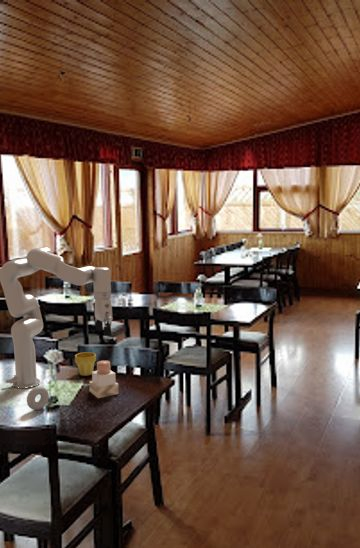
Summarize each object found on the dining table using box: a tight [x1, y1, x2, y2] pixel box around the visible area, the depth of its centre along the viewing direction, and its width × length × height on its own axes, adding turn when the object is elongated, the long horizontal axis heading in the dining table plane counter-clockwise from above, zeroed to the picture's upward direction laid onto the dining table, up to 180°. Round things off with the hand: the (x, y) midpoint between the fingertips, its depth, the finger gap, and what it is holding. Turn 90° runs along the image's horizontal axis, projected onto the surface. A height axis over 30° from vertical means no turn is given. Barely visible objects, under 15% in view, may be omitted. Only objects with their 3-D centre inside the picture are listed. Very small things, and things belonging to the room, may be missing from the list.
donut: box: [26, 385, 50, 411], centre depth 230 cm, size 10×4×10 cm, turn 135°
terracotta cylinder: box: [96, 360, 112, 374], centre depth 248 cm, size 6×6×4 cm
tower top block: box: [91, 369, 117, 387], centre depth 249 cm, size 8×8×5 cm
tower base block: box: [88, 380, 120, 399], centre depth 250 cm, size 10×10×5 cm
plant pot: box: [74, 351, 97, 377], centre depth 276 cm, size 10×10×10 cm
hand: (103, 332), depth 247 cm, fingers open, 9 cm apart
